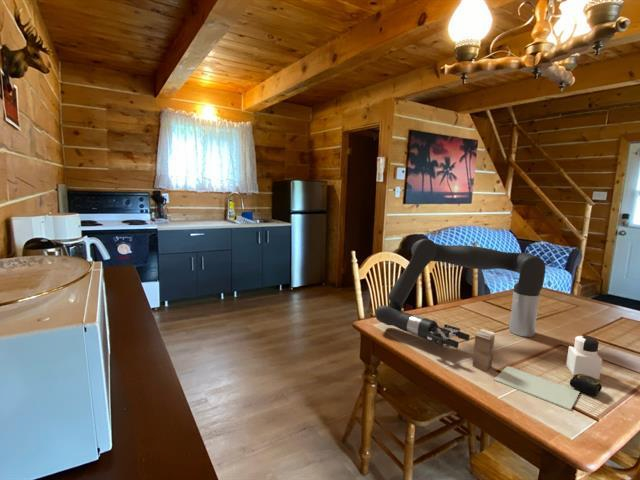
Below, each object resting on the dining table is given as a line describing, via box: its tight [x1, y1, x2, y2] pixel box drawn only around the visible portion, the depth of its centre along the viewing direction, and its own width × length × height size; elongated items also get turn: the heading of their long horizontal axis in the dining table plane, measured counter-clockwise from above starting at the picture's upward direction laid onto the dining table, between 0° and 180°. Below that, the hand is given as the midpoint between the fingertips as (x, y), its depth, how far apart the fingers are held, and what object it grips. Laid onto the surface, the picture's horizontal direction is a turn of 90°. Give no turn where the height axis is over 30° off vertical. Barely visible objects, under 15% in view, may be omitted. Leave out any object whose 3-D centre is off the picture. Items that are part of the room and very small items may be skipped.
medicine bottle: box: [565, 335, 603, 380], centre depth 114 cm, size 7×7×12 cm
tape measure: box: [569, 374, 603, 397], centre depth 104 cm, size 7×7×4 cm
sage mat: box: [493, 365, 581, 411], centre depth 106 cm, size 12×20×1 cm, turn 44°
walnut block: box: [472, 328, 496, 372], centre depth 116 cm, size 4×4×12 cm
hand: (463, 341), depth 121 cm, fingers open, 8 cm apart
